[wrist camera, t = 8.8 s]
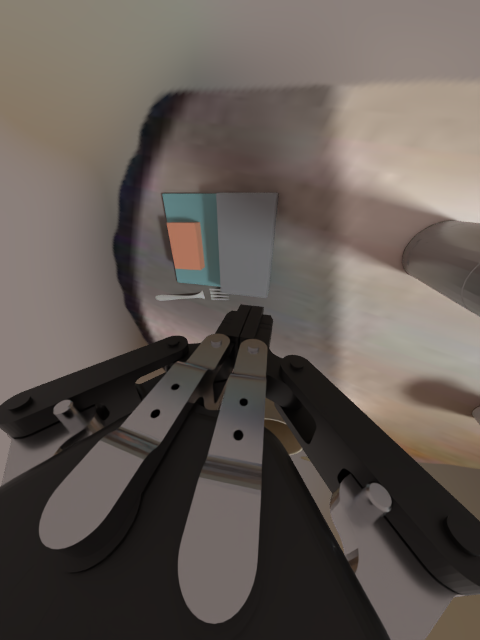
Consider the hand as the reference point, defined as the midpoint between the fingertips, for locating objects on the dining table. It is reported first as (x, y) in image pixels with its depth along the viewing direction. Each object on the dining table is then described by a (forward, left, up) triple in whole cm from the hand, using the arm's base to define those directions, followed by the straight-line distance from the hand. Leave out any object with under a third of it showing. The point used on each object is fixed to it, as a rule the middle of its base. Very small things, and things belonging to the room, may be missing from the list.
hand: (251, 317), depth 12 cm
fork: (+22, +14, -30) cm, 39 cm away
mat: (+17, +1, -29) cm, 34 cm away
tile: (+19, +1, -27) cm, 33 cm away
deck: (+6, +1, -29) cm, 30 cm away
